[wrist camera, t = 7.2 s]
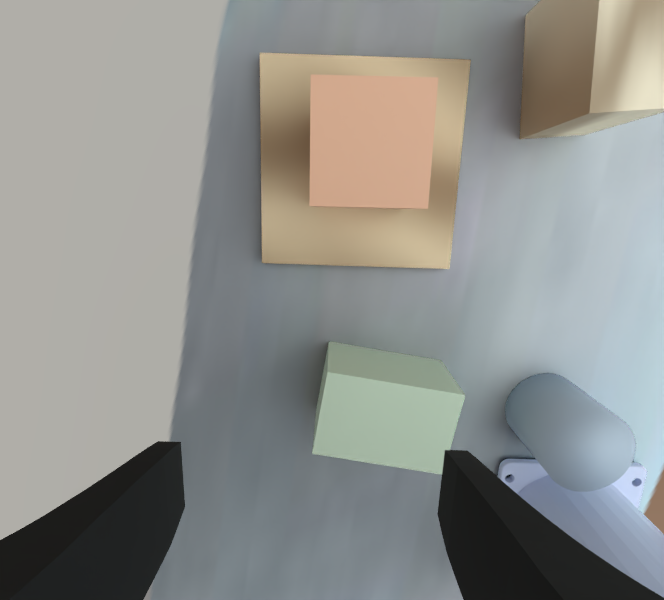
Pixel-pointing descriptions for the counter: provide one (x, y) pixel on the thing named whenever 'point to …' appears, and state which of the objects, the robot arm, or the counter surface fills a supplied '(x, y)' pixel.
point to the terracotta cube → (371, 141)
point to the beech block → (591, 65)
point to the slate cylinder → (570, 432)
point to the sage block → (386, 408)
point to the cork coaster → (353, 223)
